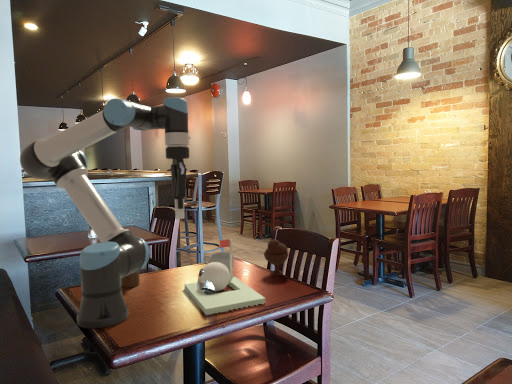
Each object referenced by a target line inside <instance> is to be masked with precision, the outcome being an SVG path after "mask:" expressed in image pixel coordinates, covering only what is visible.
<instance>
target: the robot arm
mask: <svg viewBox="0 0 512 384" xmlns="http://www.w3.org/2000/svg"><path fill="white" fill-rule="evenodd" d="M188 110H189V109H188V102H187V100H186V99H185V98H183V97H177V96H176V97H174V96H173V97H171V96H170V97H165V98H164V100H163V104H162V105H153V106H151V105H150V106H148V105H144V104H141V103H137V102H133V101H130V100H128V99H125V98H112V99H109V100H108V101H107V102H106V103H105V105H104V107H103V110H101V111H99V112H97V113H95V114H92V115H91V116H89V117H87V118H85V119H83V120H82V121H79V122H77V123H75V124H74V125H72V126H69V127H68V128H66V129H64V130H62V131H60V132H58V133H56V134H54V135H52V136H50V137H48V138H39V139H37V140H35V141H33V142H31V143H30V144H28V145H27V146H25V147H24V148H23V150H22V151H21V153H20V156H19V163H20V166H21V168H22V170H23V171H24V172H25V173H26V174H27V175H28V176H30V177H33V178H35V179H41V180H43V179H45V180H46V179H51V180H52V181H53V183H54V184H55V186H56V187H57V188H58V189H63V190H64V191H65V192H66V193H67V194H68V196H69V198H70V199H71V201H72V202H73V204H74V205H75V207H76V208H77V210H79V212H80V213H81V215H82V216H83V218H84V219H85V221H86V223H87V224H88V225H89V227H90V228H91V230H92V231H93V233H94V234H95V236H97V239H98V240H99V242H98V243H94V244H89V245H88V246H86V247H84V248H83V249H82V250H81V251H80V253H79V254H80V255H79V262H78V263H79V264H78V265H79V272H80V288H81V299H80V300H81V301H80V304H79V306H78V307H79V308H78V312H77V314H76V325H78V327H80V328H82V329H83V328H84V329H102V328H107V327H112V326H114V325H118V324H120V323H122V322H124V321H125V320H126V319H128V317H129V316H130V315H129V306H128V305H127V303H126V300H125V297H124V294H123V291H122V289H123V287H121V278H123V277H126V276H128V275H130V274H132V273H135V272H137V271H139V272H140V270H141V269H143V268H144V267H146V265H147V263H148V262H149V259H150V255H151V254H150V247H149V245H148V243H147V242H146V241H145V240H144V239H143V238H141V237H138V236H134V234H133V233H132V231H131V230H130V229H127V228H126V229H125V228H123V226H122V225H121V223H120V222H119V220H118V219H117V218H116V216H115V214H114V213H113V212H112V210H111V209H110V207H109V206H108V205H107V203H106V202H105V200H104V199H103V197H102V196H101V195H100V193H99V192H98V190H97V189H96V188H95V186H94V184H93V183H92V181H91V180H90V179H89V177H88V175H89V169H88V164H87V163H88V159H87V157H86V155H85V153H84V152H83V151H82V150H84V149H85V148H87V147H90V146H92V145H94V144H96V143H98V142H99V141H102V140H104V139H105V138H108V137H109V136H111V135H114V134H116V133H118V132H120V131H122V130H124V129H126V128H132V129H133V130H134V131H144V132H145V131H151V130H152V131H153V130H164V143H165V144H164V145H165V146H166V147H165V158H166V159H167V160H172V164H171V165H170V169H169V170H170V175H171V184H172V185H171V186H172V196H173V199H174V211H175V212H174V213H175V219H176V220H181V219H182V220H183V219H185V218H186V217H185V198H186V197H187V194H186V193H187V192H186V190H187V189H186V188H187V167H186V164H185V162H184V161H185V160H184V159H186V160H187V159H189V158H190V147H188V146H189V145H190V142H189V141H190V139H191V136H190V135H189V111H188Z"/></svg>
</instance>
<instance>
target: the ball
mask: <svg viewBox="0 0 512 384" xmlns="http://www.w3.org/2000/svg"><path fill="white" fill-rule="evenodd" d="M208 263H209V264H205V266H204V267H203V268H202V270H203V271H204V272H203V274H202V275H201V274H200V280H201V279H202V281H203V282H205V281H207V280H208V281H211V282H212V283H213V285H214V287H215V290H216V291H215V292H220V291H222V290H224V289H225V288H226V287H227V286H228V285H227V284H228V283H229V280H230V272H229V270H228V268H227V267H226V266H225V265H224V264H222V263H220V262H211V263H210V262H208ZM202 281H201V282H202Z"/></svg>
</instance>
